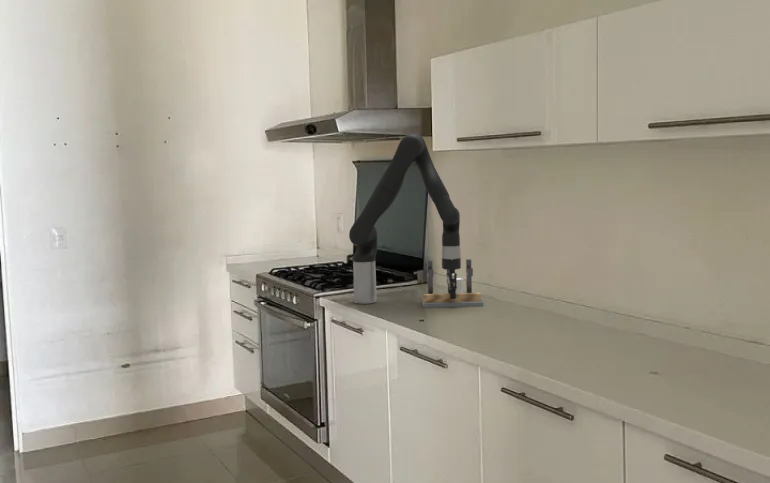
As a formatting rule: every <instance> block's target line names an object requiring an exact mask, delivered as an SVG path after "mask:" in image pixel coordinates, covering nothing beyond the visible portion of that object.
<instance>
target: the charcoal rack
mask: <svg viewBox="0 0 770 483" xmlns="http://www.w3.org/2000/svg"><path fill="white" fill-rule="evenodd" d="M426 263H427V267H426V268H427V269H426V270H427V294H434V285H433V284H434V283H433V282H434V280H433V278H434V269H433V260H426ZM473 271H474V269H473V268H472V258H471V259H469V258H468V259H465V273H466V274H465V279H466V280H465V282H466V283H465V284H466V286H465V288H466V292H465V293H473V292H472V291H473V287H472V286H473V284H472V280H473V279H472V277H473V276H474V272H473Z"/></svg>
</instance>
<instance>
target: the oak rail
mask: <svg viewBox="0 0 770 483" xmlns="http://www.w3.org/2000/svg"><path fill="white" fill-rule="evenodd" d="M422 300H423V303H436V302H473V301H481V300H482V293H481V292H472V293H466V292H463V293H456V299H450V293H448V292H447V293H433V294H428V293H423V294H422Z"/></svg>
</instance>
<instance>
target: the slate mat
mask: <svg viewBox="0 0 770 483" xmlns="http://www.w3.org/2000/svg"><path fill="white" fill-rule="evenodd" d="M469 306H471V307H484V302H483V300H482V299H481V301H473V302H436V303H423V299H422V300H421V307H422V308H423V309H424V308H425V309H427V308H428V309H429V308H430V309H431V308H432V309H433V308H461V307H462V308H463V307H464V308H466V307H467V308H470V307H469Z"/></svg>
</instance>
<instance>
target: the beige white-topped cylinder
mask: <svg viewBox="0 0 770 483" xmlns="http://www.w3.org/2000/svg"><path fill="white" fill-rule="evenodd" d="M464 280H465V279H464V278H463V277H457V284H456V287H457V288H456V293H464Z"/></svg>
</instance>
